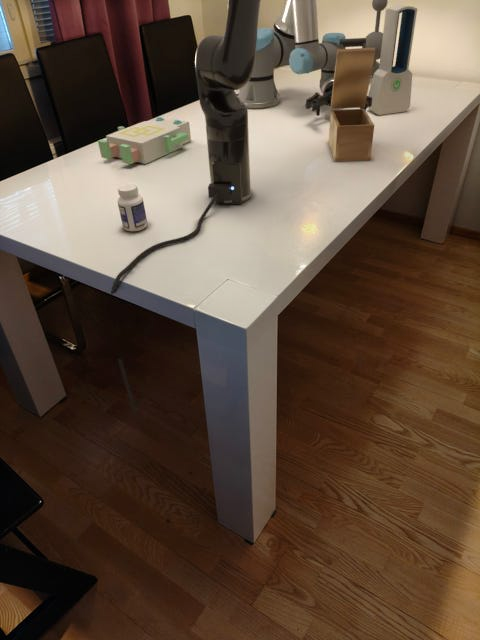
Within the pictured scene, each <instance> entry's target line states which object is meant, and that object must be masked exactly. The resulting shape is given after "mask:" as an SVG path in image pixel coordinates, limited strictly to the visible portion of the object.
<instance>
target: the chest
mask: <svg viewBox="0 0 480 640" xmlns="http://www.w3.org/2000/svg"><path fill="white" fill-rule="evenodd" d="M329 116H330V117H329V128H328V129H329V130H328V145H329V147H330V151H331V154H332V156H333V157H332V158H333V160H334V162H358V161H361V162H362V161H371V157H372V151H373V150H372V149H373V140H374V134H375V133H374V132H375V124H374V122H373V121H372V119H371V117H370V116H369V114H368V112H367V110H366V111H365V109H360V108H343V109H330V113H329Z"/></svg>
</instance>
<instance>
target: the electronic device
mask: <svg viewBox="0 0 480 640" xmlns="http://www.w3.org/2000/svg"><path fill="white" fill-rule="evenodd" d="M400 14H401V18H400ZM417 14H418V8H417V7H414V6H409V5H404V4H392V5H389V6H387V7H386V8H385V14H384V21H383V22H384V23H383V30H382V33H383V38H382V47H381V56H380V59H379V63H380V65H379V69H378V70H377V71H376V72H375V73H374V75H373V76H372V79H371V82H370V88H369V90H368V94H367V96H369V97H372V106H371V107H369V106H368V108H367V109H368V110H369V111H370V112H372V113H374V114H376V115H378V116H382V115H383V116H384V115H389V114H396V113H397V114H398V113H403V112H407V111H408V110H410V108H411V101H412V100H411V98H412V85H413V73H412V71H411V70H410V69H409V68H410V63H411V62H410V61H411V55H412V48H413V42H414V41H413V40H414V34H415V28H416V22H417V16H418V15H417ZM399 22H400V26H399ZM398 28H399V32H398ZM398 33H399V34H398ZM397 36H398V37H397ZM397 38H398V41H397ZM396 44H397V45H396ZM396 46H397V47H396ZM395 51H396V57H395ZM394 59H395V64H394Z"/></svg>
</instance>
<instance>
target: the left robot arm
mask: <svg viewBox="0 0 480 640" xmlns="http://www.w3.org/2000/svg"><path fill="white" fill-rule="evenodd" d="M261 2H262V0H227V13H226V22H225V29H224V34H222V35H220V34H209V35H207V36H205V37H203V39H201V41H200V42H199V43H198V45H197V47H196V51H195V58H194V59H195V60H194V65H195V66H194V68H195V69H194V70H195V77H196V78H195V79H196V83H197V84H196V86H197V91H198V93H197V94H198V99H199V105H200V108H201V111H202V113H203V114H204V122H205V132H206V144H207V155H208V166H209V167H208V168H209V179H210V183H209V184H208V186H207V190H208V191H207V193H208V198H211V200H210V202H209V203H208V205H207V206H206V207H205V209H204V211H203V212H202V214H201V215H200V218H198V222H197V224H196V228H195V229H194V230H193V231H191V232H190V233H189V234H187V235H184V236H180V237H178V238H177V237H176V238H174V239H168V240H164V241H161V242H158V243H156V244H154V245H152V246H150V247H148V248H146V249H145V250H143V251H142V252H140V254H138V255H137V256H136V257H135V258H133V260H132V261H131V262H130V263H129V264H127V266H125V268H123V269H121V271H120V272H119V273H118V274H117V275H116V277H115V279H114V281H113V283H112V287H111V291H110V294H111V295H114V294H116V291H117V288H118V284H119V283H120V280H121V278H122V277H123V276H124V275H125V274H127V273H128V272H129V271H130V270H131V269H132V268H133V267H134V266H135V265H136V264H137V263H138V262H139V261H140V260H141V259H142V258H144V257H145V256H146V255H148V254H149V253H151V252H153V251H154V250H157V249H159V248H161V247H164V246H167V245H171V244H176V243H180V242H183V241H187V240H188V239H192V238H193V237H194V236H196V235H197V234H198V233H199V232H200V230H201V228H202V223H203V220H204V219H205V217H206V216H207V214H208V213H209V211H210V209H212V207H213V205H214V203H215V204H216V205H242V204H243V202H246V201H248V200H250V198H251V196H252V189H251V165H250V162H251V161H250V138H249V135H250V134H249V111H248V108H247V107H246V105H245V104H244V103H243V102H242V101H241V100H240V99H239V98H238V96H237V95H236V94H237V93H236V91H238V90H240V89H241V88H243V87H244V86H245V85H246V84H247V83H248V81H249V79H250V77H251V75H252V72H253V68H254V63H255V54H256V43H257V30H258V29H259V17H260V8H261ZM117 361H118V365H119V369H120V372H121V375H122V379H123V382H124V386H125V389H126V392H127V396H128V399H129V403H130V407H131V410H132V415H133V416H136V415H138V413H137V409H136V405H135V401H134V397H133V393H132V390H131V386H130V383H129V379H128V376H127V373H126V369H125V365H124V361H123V359H122V358H118V359H117Z"/></svg>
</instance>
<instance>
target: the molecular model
mask: <svg viewBox="0 0 480 640" xmlns="http://www.w3.org/2000/svg"><path fill="white" fill-rule="evenodd" d="M371 6H372V9H373V10H374V11H376V17H375V25H374V31H372V32H369V33H368V34H367V35H366V36H365V37H364V38H366V48H375V55H374V60H373V66H372V71H371V77H373V75H374V73H375V72H376V71H377V70H378V69H379V65H380V61H377V60H380V56H381V47H382V38H383V31H382V32H381V31H380V23H381V15H382V12H383V11H384V10H386V8H387V7H388V0H372V1H371ZM361 48H363V46H361Z"/></svg>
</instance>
